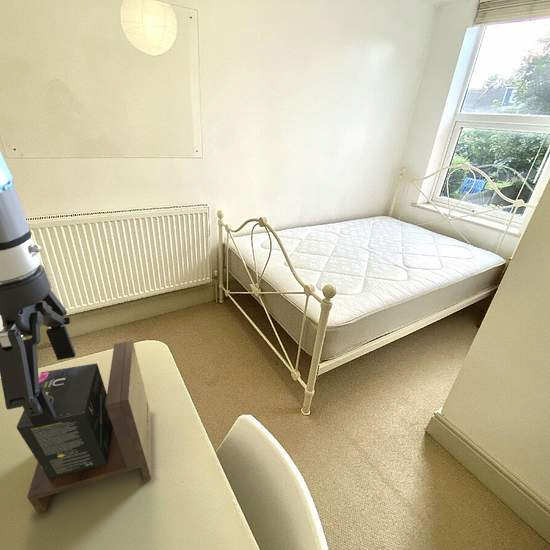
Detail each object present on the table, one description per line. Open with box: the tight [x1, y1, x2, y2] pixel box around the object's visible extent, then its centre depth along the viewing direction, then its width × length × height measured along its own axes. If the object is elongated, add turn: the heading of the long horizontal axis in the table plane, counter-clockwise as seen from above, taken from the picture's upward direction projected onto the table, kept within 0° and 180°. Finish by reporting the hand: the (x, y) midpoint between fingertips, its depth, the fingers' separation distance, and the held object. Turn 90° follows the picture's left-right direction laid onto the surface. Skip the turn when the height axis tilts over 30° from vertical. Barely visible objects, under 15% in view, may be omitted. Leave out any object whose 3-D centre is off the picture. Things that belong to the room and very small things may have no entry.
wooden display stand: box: [26, 340, 152, 515], centre depth 55 cm, size 18×14×23 cm
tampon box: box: [15, 362, 112, 479], centre depth 54 cm, size 11×9×15 cm
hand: (57, 386), depth 50 cm, fingers open, 13 cm apart
